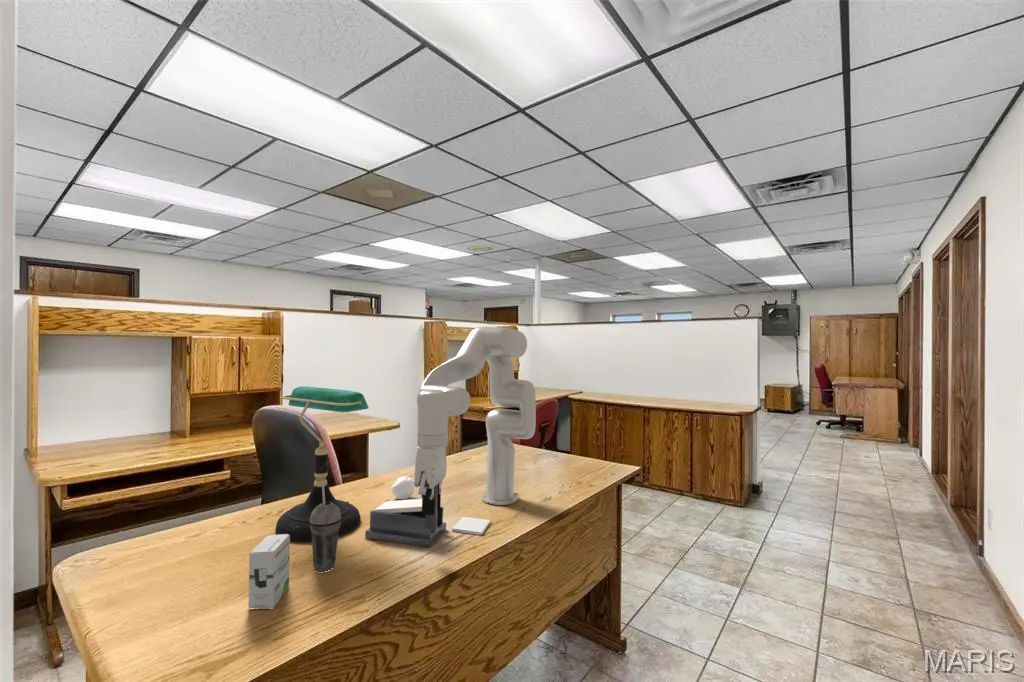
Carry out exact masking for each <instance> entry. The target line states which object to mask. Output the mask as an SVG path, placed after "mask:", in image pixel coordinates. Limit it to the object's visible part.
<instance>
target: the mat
mask: <svg viewBox="0 0 1024 682" xmlns="http://www.w3.org/2000/svg"><path fill="white" fill-rule="evenodd" d="M490 524H491V520H490V519H482V518H475V517H468V516H467V517H466V516H462V517H460V519H459V520H458V521H457V522H456V523H455V524H454V525H453V527H452V528H451V532H455V533H462V534H463V533H464V534H470V535H477V536H482V535H483V534H484V533H485V531H486V530H487V528H488V527H489V525H490Z"/></svg>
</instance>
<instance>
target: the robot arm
mask: <svg viewBox="0 0 1024 682" xmlns="http://www.w3.org/2000/svg"><path fill="white" fill-rule="evenodd" d="M527 348H528V340H527V337H526V335H525V334H524V332H522V331H520V330H516V329H512V328H508V327H501V326H498V327H497V326H479V327H476V328H473V329H472V330H471V331H470V332H469V334H468V336H467V337H466V339H465V341H464V342H463V344H462V345H461V347H460V349H459V351H457V354H456V356H454V357H453V358H450V359H448V360H447V361H445V362H443V363H442V364H440V365H438V366H436V367H435V368H434V369H433V370H431V371H430V372H429V374H427V376H426V377H425V379H424V380H423V382H422V384H421V386H420V387H419V389H418V392H417V394H416V404H417V432H416V433H417V435H416V438H417V440H416V441H417V443H416V444H417V445H416V446H417V450H416V454H415V455H416V456H415V464H414V478H413V479H414V480H413V481H414V486H415V487H414V488H418V492H417V493H418V495H420V496H421V498H420V499H422V514H426V515H434V514H435V499H433V498H434V487H435V486H436V485H437V484H438V501H437V509H438V510H439V509H440V507H442V506H441V505H442V504H441V499H442V498H441V495H442V493H441V492H442V484H443V481H444V480H445V478H446V475H447V446H448V435H449V434H448V431H449V429H448V427H449V425H448V424H449V417H451V416H452V417H453V416H460V415H463V414H464V413H465V412H467V411H468V410H469V408H470V405H471V395H470V393H469V392H468V391H467V390H466V389H465V388H463V387H459V386H452V384H455V383H457V382H458V383H459V382H460V381H464V380H465V381H466V380H469V379H472V378H474V377H476V376H478V375H479V374H480V373H481V371H482V370H483V368H484V366H485V364H486V362H487V365H488V369H489V370H488V372H489V398H490V401H491V403H492V404H494V405H495V406H500V407H508V408H509V407H510V408H518V409H519V410H517V409H510V408H509V409H507V408H494V409H492V410H490V411H489V412H488V413H487V414H486V417H485V428H486V429H485V430H486V433H487V434H486V435H487V465H486V467H487V468H486V469H487V471H486V492H483V494H481V499H482V501H483V502H484V503H486V504H488V503H489V504H490V505H492V504H493V506H506V505H507V506H508V505H512V504H515V503H517V501H518V500H519V499H518V498H519V497H518V494H516V493H515V490H514V488H515V460H516V458H515V455H516V454H515V453H516V449H515V445H514V444H513V441H512V439H518V440H519V439H520V440H529V439H531V438H533V436H534V435H535V432H536V426H537V425H536V419H537V417H536V415H537V414H536V413H537V412H536V409H537V408H536V406H537V405H536V403H537V402H536V399H537V398H536V397H537V396H536V387H535V386H534V384H533V382H532V381H530V380H527V379H517V378H515V371H514V370H515V367H514V366H515V365H514V362H513V360H512V359H511V358H521V357H523V356H524V355H525V353H526V351H527ZM450 385H451V386H450ZM427 484H429V486H426V485H427ZM426 489H429V490H430V492H429V491H427V490H426ZM489 504H488V505H489Z"/></svg>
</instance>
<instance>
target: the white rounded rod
mask: <svg viewBox="0 0 1024 682" xmlns="http://www.w3.org/2000/svg"><path fill="white" fill-rule="evenodd" d="M426 486H429V484H427V485H426ZM426 490H427V491H429V492H430V490H429V489H426ZM433 499H435V514H434V515H426V514H425V529H427V530H434V529H436V528H437V501H438V484H437V485H436V486H435V487H434V498H433Z"/></svg>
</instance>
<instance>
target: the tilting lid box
mask: <svg viewBox="0 0 1024 682" xmlns="http://www.w3.org/2000/svg"><path fill="white" fill-rule="evenodd" d="M386 501H391V500H388V499H387V500H386ZM369 513H370V515H369V528H367V530H365V538H364V539H366V538H370V539H369V540H373V539H376V540H375V541H380V540H383V541H382V542H387V541H388V542H387V543H395V544H400V543H401V545H402V544H403V545H408V546H409V545H410V546H414V547H421V548H431V546H432V545H433V544H434V543H435V542H436V541H437V540H438V539H439V538H440V537H441V536H442V535H443V534H444V533H445V532H446V530H447V522H444V506H441V507H440V509H439V510H438V509H437V528H436V529H434V530H427V529H425V514H422V511H415V512H399V513H386V512H379V511H374V510H370V511H369Z"/></svg>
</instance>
